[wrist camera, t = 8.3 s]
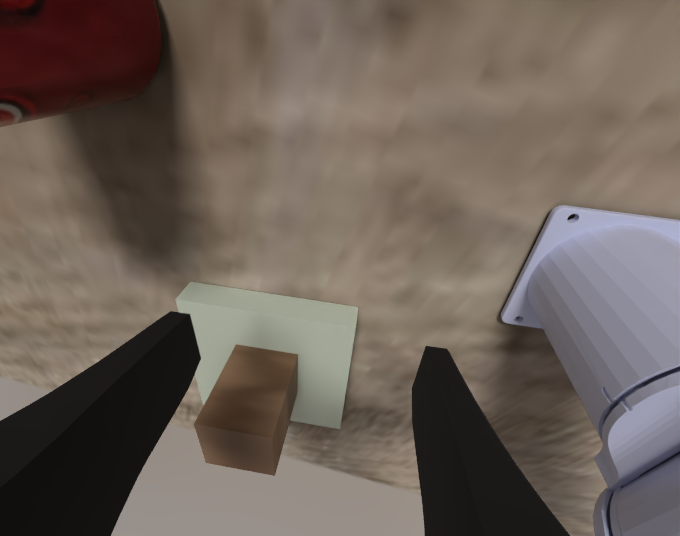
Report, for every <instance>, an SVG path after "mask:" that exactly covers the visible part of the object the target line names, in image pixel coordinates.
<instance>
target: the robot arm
mask: <svg viewBox="0 0 680 536" xmlns="http://www.w3.org/2000/svg"><path fill="white" fill-rule="evenodd" d="M572 214H575V217H574V218H572V219H570V220H567V219H568V217H569V216H570V215H572ZM518 316H520V317H519V318H516V317H518ZM501 318H502V321H503V322H504V323H507V324H514V325H521V326H527V327H534V328H540V329H543V330H544V332H545V334H546V336H547V338H548V340H549V342H550V343H551V345H552V347H553V349H554V351H555V353H556V355H557V357H558V359H559V360H560V362H561V364H562V366H563V368H564V370H565V372H566V374H567V376H568V377H569V379H570V381H571V383H572V385H573V387H574V389H575V391H576V393H577V395H578V396H579V398H580V400H581V402H582V404H583V406H584V408H585V410H586V412H587V413H588V415H589V417H590V419H591V421H592V423H593V425H594V427H595V429H596V430H597V432H598V434H599V436H600V438H601V440H602V442H603V447H602V450H601V451H600V452H599V453H598V454H597V455H596V456H595V457H594V459H595V461H596V463H597V465H598V467H599V469H600V471H601V473H602V476H603V478H604V480H605V482H606V484H607V486H608V488H606V489H605V490H604V491H603V492H602V493H601V494H600V495H599V497H598V500H597V502H596V504H595V509H594V515H593V519H594V532H595V536H680V220H676V219H668V218H660V217H652V216H644V215H637V214H629V213H621V212H613V211H605V210H598V209H590V208H582V207H574V206H566V205H560V206H558V207H556V208H554V209H553V210H552V211H551V212H550V214H549V216H548V218H547V220H546V222H545V224H544V227H543V229H542V231H541V233H540V235H539V237H538V239H537V241H536V243H535V245H534V247H533V249H532V251H531V253H530V255H529V257H528V259H527V261H526V263H525V265H524V267H523V269H522V271H521V273H520V276H519V278H518V280H517V282H516V284H515V286H514V288H513V290H512V292H511V294H510V296H509V298H508V300H507V302H506V304H505V306H504V308H503V310H502V312H501ZM200 360H201V356H200V352H199V348H198V344H197V340H196V336H195V332H194V328H193V324H192V320H191V316H190V314H187V313H180V312H172V311H171V312H169V313H168V314H166V315H165V316H163V317H162V318H160V319H159V320H157V321H156V322H155V323H153V324H152V325H150V326H149V327H147V328H146V329H145V330H143V331H142V332H140V333H139V334H138V335H136V336H135V337H133V338H132V339H131V340H129V341H128V342H126V343H125V344H123V345H122V346H120V347H119V348H118V349H116V350H115V351H113V352H112V353H110V354H109V355H107V356H106V357H105V358H103V359H102V360H100V361H99V362H97V363H96V364H94V365H93V366H91V367H89V368H88V369H86V370H85V371H83V372H82V373H80V374H79V375H77V376H75V377H74V378H72V379H71V380H69V381H68V382H66V383H65V384H63V385H61V386H60V387H58V388H57V389H55V390H53V391H52V392H50V393H49V394H47V395H45V396H44V397H42V398H40V399H39V400H37V401H35V402H33V403H32V404H30V405H28V406H26V407H25V408H23V409H21V410H19V411H17V412H16V413H14V414H12V415H10V416H8V417H7V418H5V419H3V420H1V421H0V536H111V533H112V531H113V529H114V527H115V524H116V522H117V520H118V518H119V515H120V513H121V511H122V509H123V507H124V505H125V503H126V501H127V498H128V496H129V494H130V492H131V490H132V488H133V486H134V484H135V482H136V480H137V477H138V475H139V474H140V472H141V470H142V468H143V466H144V465H145V463H146V461H147V459H148V457H149V456H150V454H151V452H152V451H153V449H154V447H155V445H156V444H157V442H158V440H159V438H160V437H161V435H162V433H163V432H164V430H165V428H166V427H167V425H168V423H169V421H170V420H171V418H172V416H173V415H174V413H175V411H176V409H177V408H178V406H179V404H180V402H181V401H182V399H183V397H184V395H185V394H186V392H187V390H188V388H189V386H190V383H191V381H192V379H193V377H194V374H195V372H196V370H197V367H198V365H199V362H200ZM412 423H413V432H414V440H415V448H416V456H417V464H418V472H419V480H420V488H421V496H422V504H423V515H424V528H425V536H570V535H569V534H568V532H567V531H566V530H565V529H564V527H563V526H562V525H561V524H560V522H559V521H558V520H557V518H556V517H555V516H554V515H553V513H552V512H551V511H550V510H549V508H548V507H547V506H546V504H545V503H544V502H543V500H542V499H541V498H540V496H539V495H538V494H537V492H536V491H535V490H534V488H533V487H532V486H531V484H530V483H529V482H528V480H527V479H526V477H525V476H524V475H523V473H522V472H521V470H520V469H519V468H518V466H517V465H516V463H515V462H514V460H513V459H512V457H511V456H510V454H509V453H508V451H507V450H506V448H505V447H504V445H503V444H502V442H501V441H500V439H499V438H498V436H497V435H496V433H495V432H494V430H493V428H492V427H491V425H490V424H489V422H488V420H487V419H486V417H485V415H484V414H483V412H482V410H481V409H480V407H479V405H478V404H477V402H476V400H475V399H474V397H473V395H472V393H471V392H470V390H469V388H468V386H467V384H466V383H465V381H464V379H463V377H462V375H461V374H460V372H459V370H458V368H457V366H456V364H455V362H454V360H453V358H452V356H451V354H450V352H449V351H448V350H447V349H444V348H437V347H430V346H426V347H425V350H424V353H423V356H422V359H421V362H420V365H419V368H418V372H417V375H416V378H415V381H414V384H413V387H412Z"/></svg>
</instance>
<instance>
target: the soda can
mask: <svg viewBox="0 0 680 536" xmlns="http://www.w3.org/2000/svg"><path fill="white" fill-rule="evenodd" d="M160 55H161V29H160V20H159V15H158V11H157V7H156V4H155V0H0V127H4V126H8V125H13V124H18V123H23V122H28V121H32V120H37V119H42V118H47V117H52V116H56V115H61V114H66V113H71V112H76V111H80V110H85V109H90V108H95V107H100V106H104V105H109V104H114V103H119V102H122V101H126V100H130V99H132V98H133V97H135V96H137V95H138V94H140V93H142V92H143V91H144V89H145V88H146V87H147V86H148V85H149V84H150V83H151V81H152V79H153V77H154V75H155V73H156V71H157V67H158V63H159V59H160Z"/></svg>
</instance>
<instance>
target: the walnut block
mask: <svg viewBox="0 0 680 536" xmlns="http://www.w3.org/2000/svg"><path fill="white" fill-rule="evenodd" d="M297 386H298V354H293V353H287V352H280V351H274V350H268V349H262V348H256V347H250V346H244V345H237V344H236V345H235V347H234V349H233V351H232V353H231V355H230V357H229V359H228V360H227V362H226V364H225V366H224V368H223V370H222V372H221V374H220V376H219V378H218V380H217V381H216V383H215V385H214V387H213V389H212V391H211V393H210V395H209V397H208V399H207V400H206V402H205V404H204V406H203V408H202V410H201V412H200V414H199V416H198V418H197V420H196V421H195V423H194V425H195V429H196V432H197V435H198V438H199V442H200V445H201V448H202V451H203V454H204V458H205V461H206V463H210V464H215V465H221V466H226V467H231V468H237V469H242V470H248V471H253V472H259V473H264V474H269V475H275V473H276V469H277V465H278V462H279V458H280V455H281V451H282V447H283V444H284V440H285V436H286V433H287V429H288V425H289V422H290V418H291V414H292V411H293V407H294V403H295V400H296V396H297Z"/></svg>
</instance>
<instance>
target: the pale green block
mask: <svg viewBox="0 0 680 536" xmlns="http://www.w3.org/2000/svg"><path fill="white" fill-rule="evenodd" d="M175 300H176V304H177V308H178V312H180V313H187V314H190V316H191V320H192V324H193V328H194V332H195V336H196V340H197V344H198V348H199V352H200V356H201V360H200V362H199V365H198V367H197V370H196V372H195V376H196V380H197V384H198V388H199V391H200V395H201V399H202V403H203V405H204V404H205V402H206V400H207V399H208V397H209V395H210V393H211V391H212V389H213V387H214V385H215V383H216V381H217V380H218V378H219V376H220V374H221V372H222V370H223V368H224V366H225V364H226V362H227V360H228V359H229V357H230V355H231V353H232V351H233V349H234V347H235V345H236V344H237V345H244V346H250V347H256V348H262V349H268V350H274V351H280V352H287V353H293V354H298V386H297V396H296V400H295V403H294V407H293V411H292V414H291V418H290V421H295V422H301V423H307V424H312V425H318V426H324V427H329V428H335V429H340V426H341V420H342V414H343V407H344V401H345V394H346V388H347V381H348V375H349V369H350V362H351V356H352V349H353V343H354V336H355V330H356V323H357V315H358V308H359V307H354V306H348V305H341V304H335V303H328V302H322V301H315V300H309V299H302V298H295V297H289V296H282V295H276V294H269V293H263V292H256V291H249V290H243V289H236V288H230V287H223V286H217V285H210V284H204V283H197V282H190V283H189V284H188V285H187V286H186V288H185V289H184V290H183V291H182V292H181V293H180V295H179V296H178V297H177V298H176V299H175Z"/></svg>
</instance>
